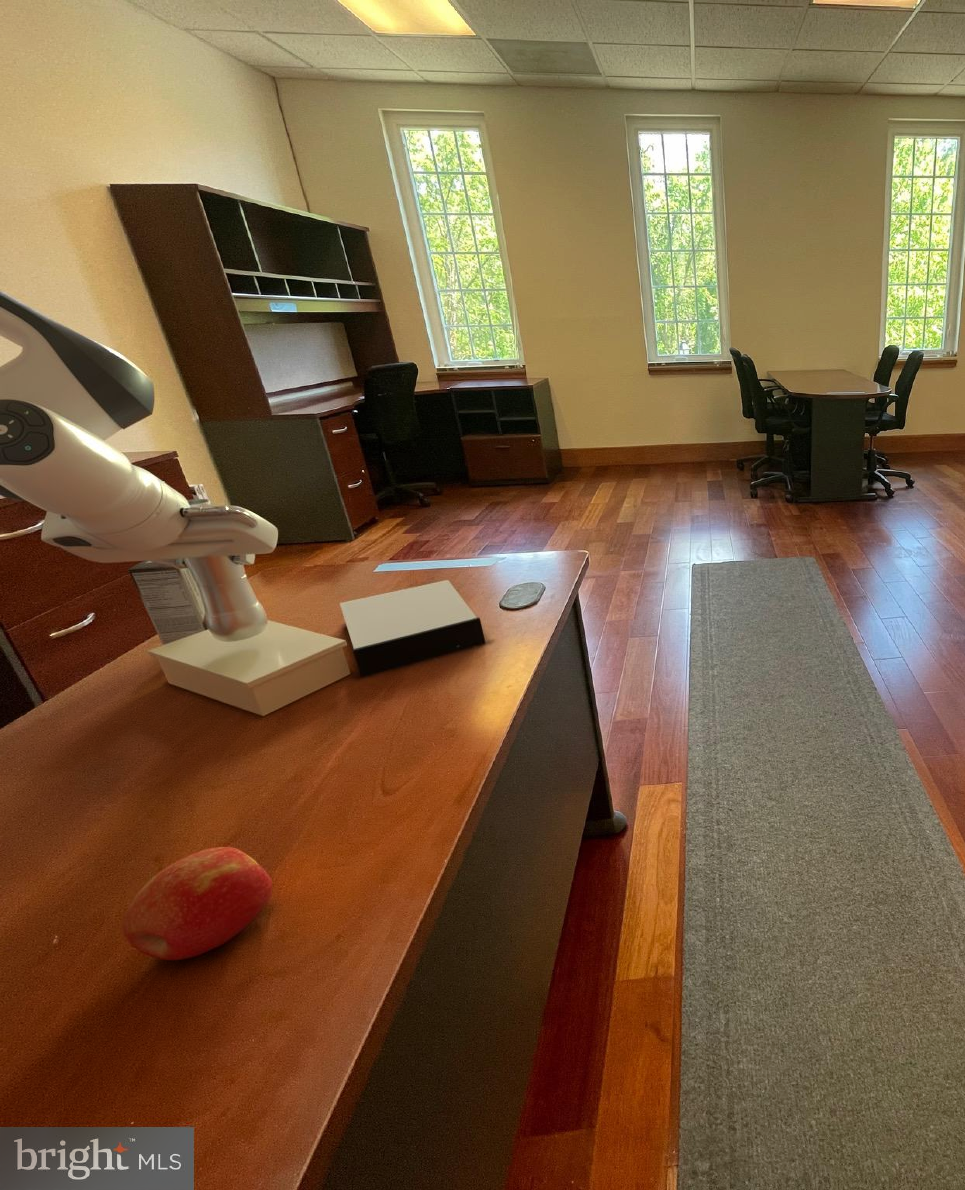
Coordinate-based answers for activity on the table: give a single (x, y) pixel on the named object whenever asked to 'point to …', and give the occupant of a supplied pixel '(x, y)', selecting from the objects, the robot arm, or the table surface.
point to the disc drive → (409, 626)
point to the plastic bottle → (226, 595)
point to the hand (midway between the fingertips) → (217, 561)
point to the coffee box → (170, 600)
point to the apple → (197, 904)
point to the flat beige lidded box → (254, 666)
